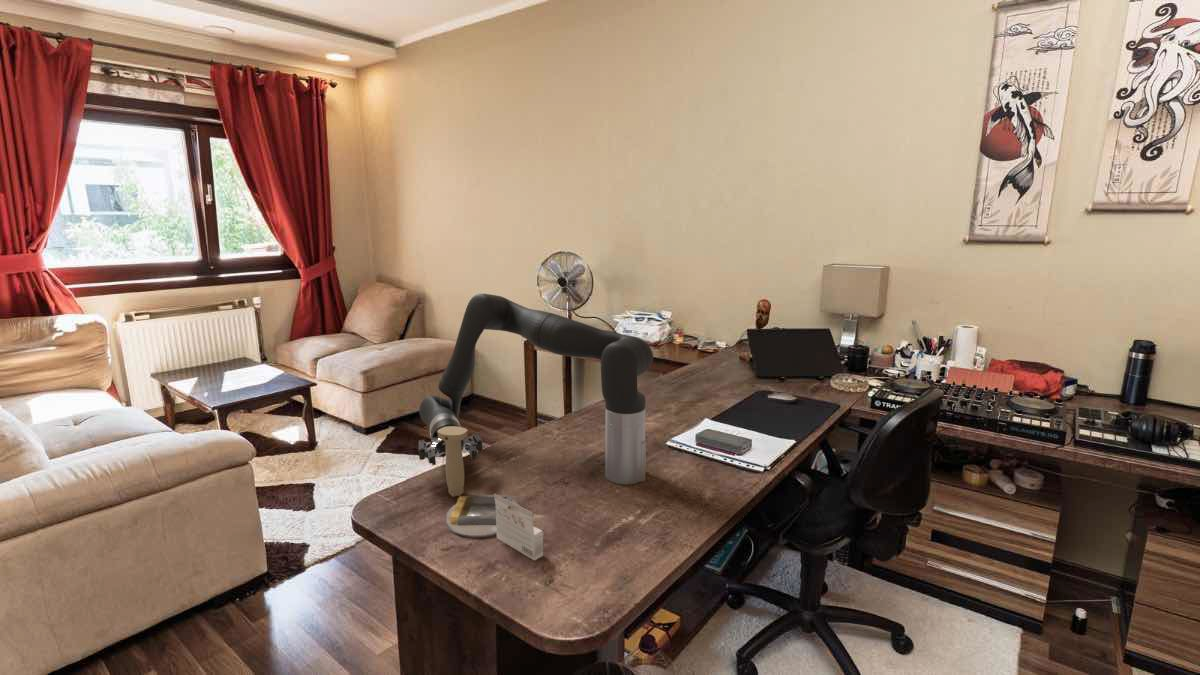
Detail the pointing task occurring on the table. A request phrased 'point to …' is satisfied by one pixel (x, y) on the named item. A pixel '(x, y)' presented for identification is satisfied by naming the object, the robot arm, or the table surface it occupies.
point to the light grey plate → (475, 515)
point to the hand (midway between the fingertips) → (453, 458)
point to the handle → (454, 458)
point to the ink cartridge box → (518, 528)
